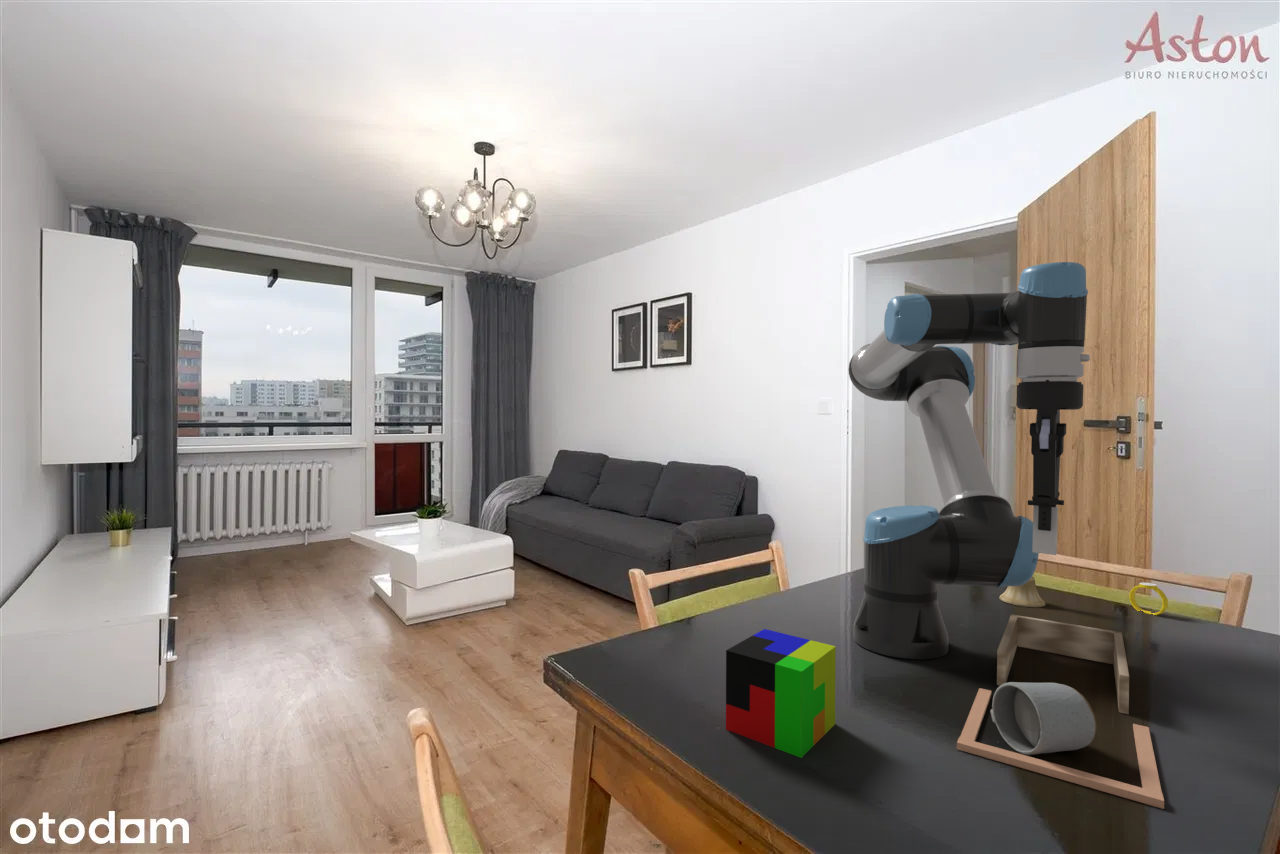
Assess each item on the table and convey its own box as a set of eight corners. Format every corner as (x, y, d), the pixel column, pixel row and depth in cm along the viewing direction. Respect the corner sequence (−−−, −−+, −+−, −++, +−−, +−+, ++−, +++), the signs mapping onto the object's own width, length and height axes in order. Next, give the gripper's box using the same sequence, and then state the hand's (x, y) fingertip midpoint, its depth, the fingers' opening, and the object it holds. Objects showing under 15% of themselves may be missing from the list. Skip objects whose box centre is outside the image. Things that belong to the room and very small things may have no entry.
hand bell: (1044, 599, 131) (1045, 525, 131) (1046, 610, 124) (1046, 531, 124) (999, 593, 135) (1000, 522, 135) (998, 603, 128) (999, 527, 128)
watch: (1127, 611, 124) (1125, 581, 124) (1135, 609, 125) (1133, 580, 126) (1163, 618, 119) (1161, 587, 119) (1170, 616, 120) (1168, 585, 120)
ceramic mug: (1103, 760, 69) (1102, 693, 69) (1041, 768, 68) (1041, 699, 68) (1026, 717, 80) (1026, 658, 80) (971, 723, 78) (971, 663, 78)
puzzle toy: (764, 701, 84) (764, 628, 84) (835, 724, 78) (835, 646, 77) (725, 730, 76) (726, 650, 76) (801, 758, 70) (801, 671, 70)
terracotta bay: (956, 749, 72) (956, 742, 72) (979, 691, 87) (979, 685, 87) (1163, 809, 61) (1164, 801, 61) (1148, 731, 76) (1148, 724, 76)
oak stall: (996, 684, 89) (997, 650, 89) (1010, 643, 106) (1011, 614, 105) (1128, 714, 80) (1129, 676, 80) (1121, 663, 97) (1121, 632, 97)
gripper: (1081, 378, 75) (1075, 567, 76) (1085, 380, 86) (1080, 547, 87) (1010, 379, 80) (1006, 558, 81) (1022, 381, 90) (1018, 540, 91)
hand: (1044, 552), depth 84 cm, fingers closed
